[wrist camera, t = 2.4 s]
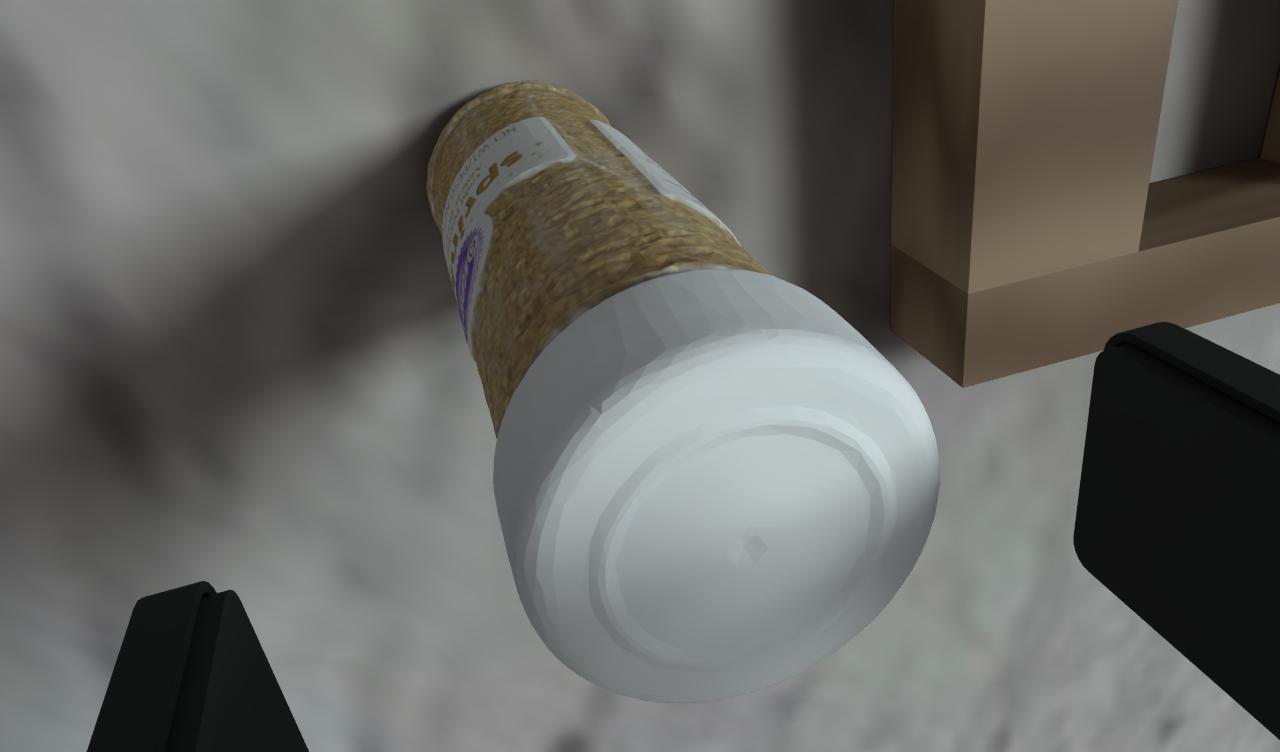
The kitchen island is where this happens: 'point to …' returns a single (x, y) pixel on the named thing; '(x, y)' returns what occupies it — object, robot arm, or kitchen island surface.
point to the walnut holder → (1057, 188)
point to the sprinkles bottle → (667, 414)
